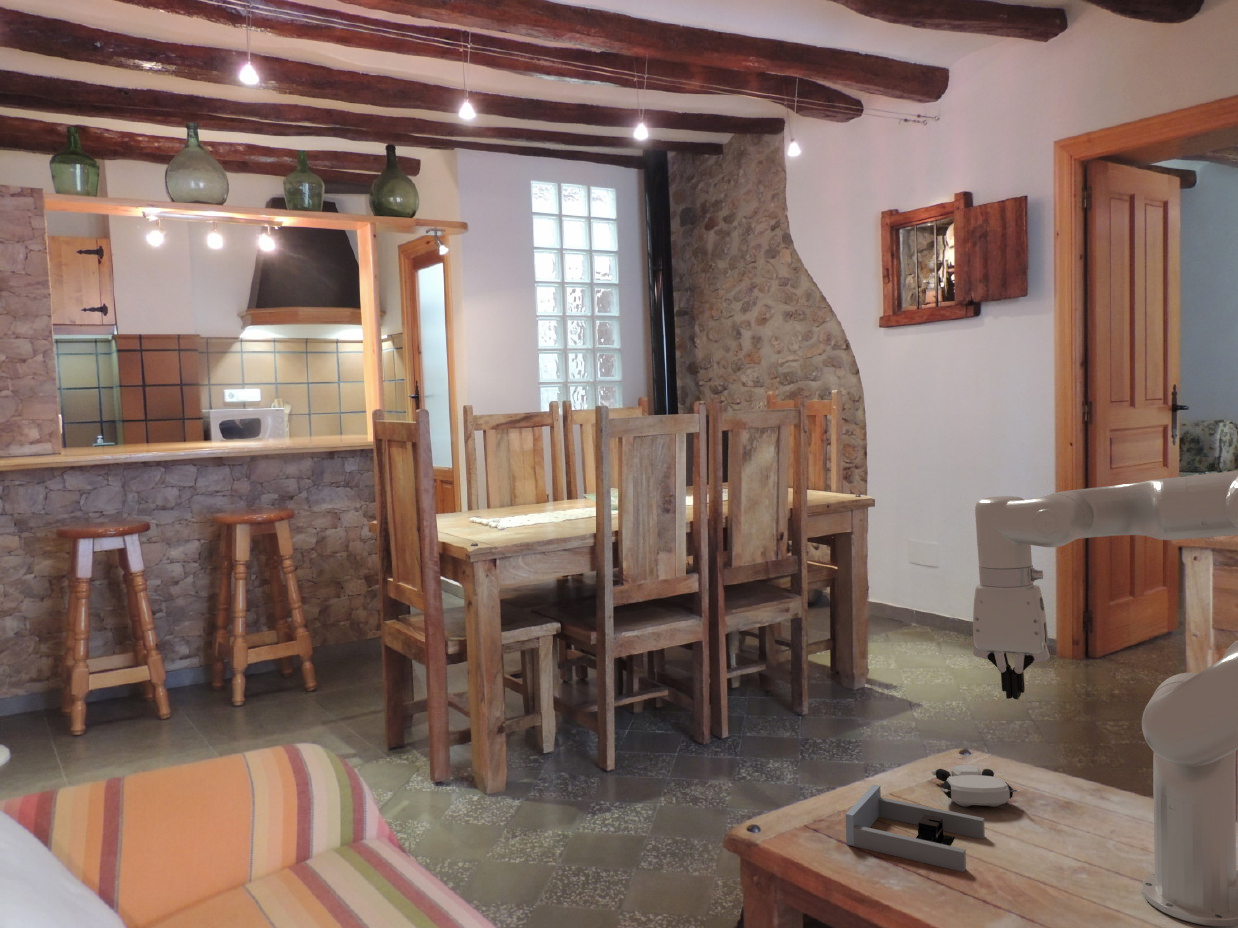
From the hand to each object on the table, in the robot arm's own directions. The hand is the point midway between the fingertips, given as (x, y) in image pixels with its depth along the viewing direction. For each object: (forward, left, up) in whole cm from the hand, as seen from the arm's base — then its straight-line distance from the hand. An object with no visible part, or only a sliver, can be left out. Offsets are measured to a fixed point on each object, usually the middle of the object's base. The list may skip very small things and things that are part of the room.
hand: (1013, 696), depth 137 cm
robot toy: (+11, -20, -26) cm, 34 cm away
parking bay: (+14, +2, -25) cm, 29 cm away
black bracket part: (+13, +2, -26) cm, 29 cm away
